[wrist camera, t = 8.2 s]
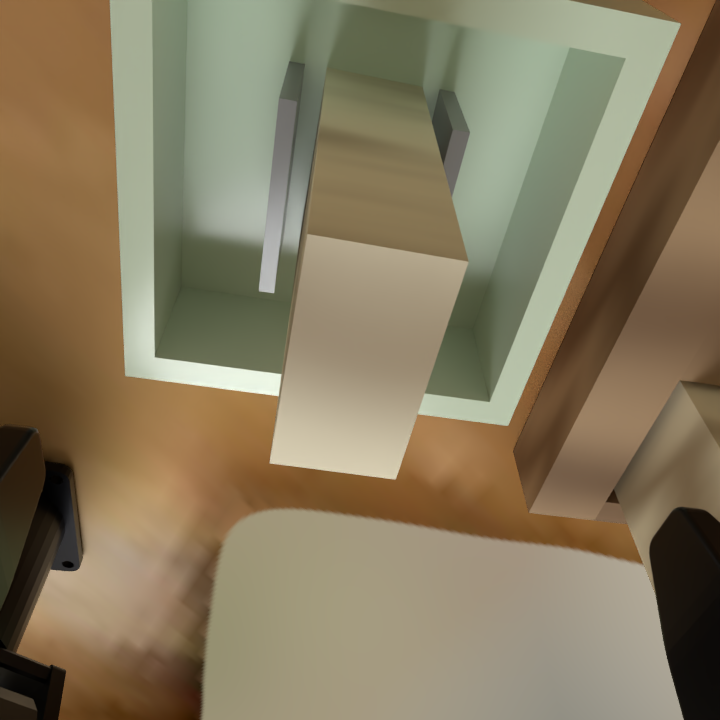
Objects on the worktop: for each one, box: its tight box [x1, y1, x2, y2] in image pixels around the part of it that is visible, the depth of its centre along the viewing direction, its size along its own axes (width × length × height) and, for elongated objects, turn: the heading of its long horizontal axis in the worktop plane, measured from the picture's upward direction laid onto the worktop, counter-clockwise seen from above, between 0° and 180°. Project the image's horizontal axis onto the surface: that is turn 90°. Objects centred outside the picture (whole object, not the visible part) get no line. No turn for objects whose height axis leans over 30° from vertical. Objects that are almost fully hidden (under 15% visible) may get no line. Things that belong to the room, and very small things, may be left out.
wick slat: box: [614, 380, 720, 595], centre depth 21 cm, size 5×2×9 cm, turn 170°
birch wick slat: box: [270, 67, 469, 479], centre depth 15 cm, size 5×2×9 cm, turn 169°
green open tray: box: [110, 0, 681, 426], centre depth 18 cm, size 11×11×4 cm
